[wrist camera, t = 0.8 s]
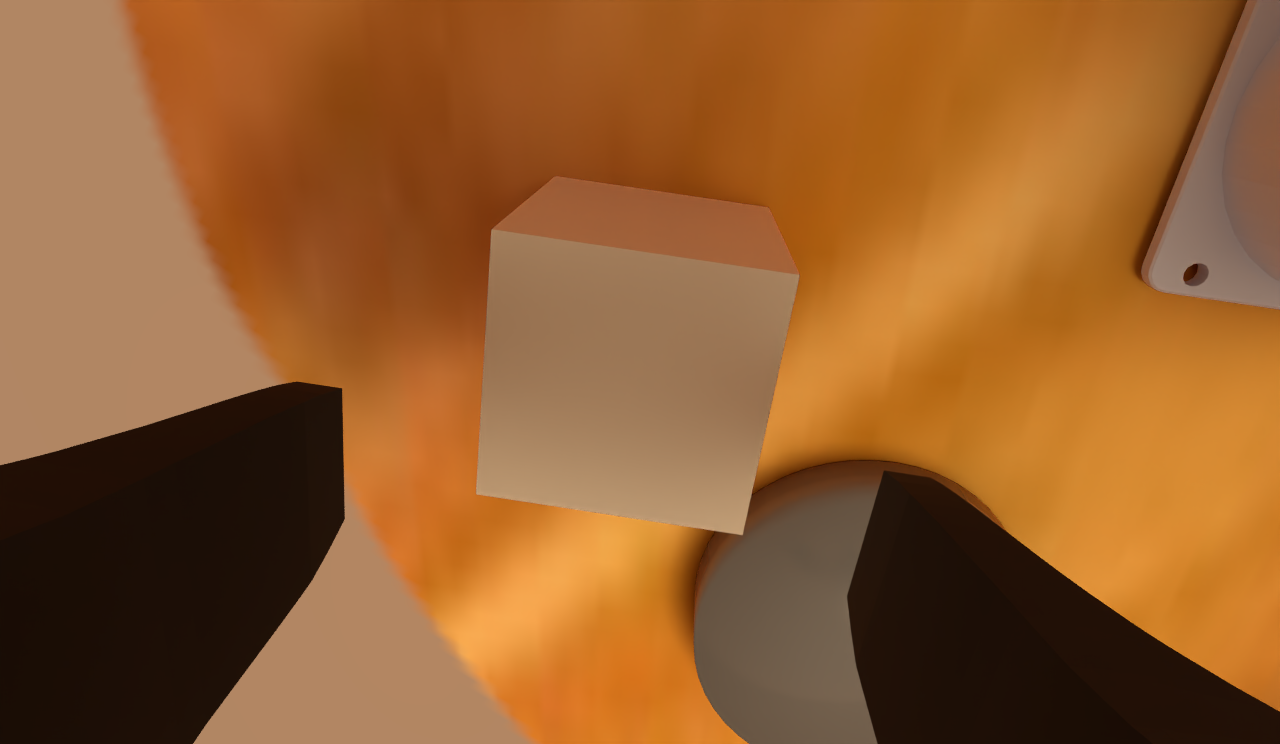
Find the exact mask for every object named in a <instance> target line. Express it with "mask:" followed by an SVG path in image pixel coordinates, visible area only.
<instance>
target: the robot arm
mask: <svg viewBox="0 0 1280 744" xmlns="http://www.w3.org/2000/svg"><path fill="white" fill-rule="evenodd" d="M1193 264H1197V265H1198V271H1197V273H1196V275H1195V276H1194V277H1193V278H1192V279H1190V280H1188V281H1184V280H1183V276H1184V272H1185V271H1186V269H1187V268H1188V267H1190V266H1191V265H1193ZM1141 275H1142V278H1143V281H1144V282H1145V283H1146V284H1147V285H1148V286H1150V287H1152V288H1153V289H1155V290H1158V291H1161V292H1164V293H1171V294H1178V295H1184V296H1191V297H1198V298H1205V299H1212V300H1218V301H1225V302H1232V303H1239V304H1246V305H1252V306H1259V307H1266V308H1273V309H1279V310H1280V0H1247V3H1246V5H1245V8H1244V10H1243V13H1242V15H1241V18H1240V20H1239V23H1238V25H1237V28H1236V31H1235V33H1234V36H1233V38H1232V41H1231V43H1230V46H1229V48H1228V51H1227V53H1226V56H1225V58H1224V61H1223V63H1222V66H1221V68H1220V71H1219V73H1218V76H1217V78H1216V81H1215V83H1214V86H1213V88H1212V91H1211V93H1210V96H1209V98H1208V101H1207V103H1206V106H1205V108H1204V111H1203V114H1202V116H1201V119H1200V121H1199V124H1198V126H1197V129H1196V131H1195V134H1194V136H1193V139H1192V141H1191V144H1190V146H1189V149H1188V151H1187V154H1186V156H1185V159H1184V161H1183V164H1182V166H1181V169H1180V171H1179V174H1178V176H1177V179H1176V181H1175V184H1174V186H1173V189H1172V192H1171V194H1170V197H1169V199H1168V202H1167V204H1166V207H1165V209H1164V212H1163V214H1162V217H1161V219H1160V222H1159V224H1158V227H1157V229H1156V232H1155V234H1154V237H1153V239H1152V242H1151V244H1150V247H1149V249H1148V252H1147V254H1146V257H1145V259H1144V262H1143V265H1142V270H1141ZM344 515H345V512H344V462H343V413H342V388H336V387H329V386H323V385H316V384H309V383H303V382H292V383H286V384H281V385H276V386H272V387H269V388H265V389H261V390H258V391H254V392H251V393H247V394H244V395H241V396H238V397H234V398H231V399H228V400H225V401H221V402H219V403H215V404H212V405H209V406H206V407H203V408H200V409H196V410H194V411H190V412H187V413H184V414H181V415H178V416H174V417H171V418H168V419H165V420H162V421H159V422H155V423H153V424H149V425H146V426H143V427H139V428H136V429H132V430H129V431H125V432H122V433H118V434H115V435H111V436H108V437H104V438H101V439H97V440H94V441H91V442H87V443H84V444H80V445H76V446H73V447H70V448H67V449H63V450H59V451H56V452H52V453H48V454H44V455H40V456H37V457H33V458H29V459H25V460H21V461H16V462H13V463H8V464H4V465H0V744H193V743H194V741H195V740H196V738H197V737H198V736H199V734H200V733H201V731H202V729H203V728H204V726H205V725H206V724H207V722H208V721H209V720H210V718H211V717H212V716H213V714H214V713H215V712H216V710H217V709H218V708H219V706H220V705H221V704H222V702H223V701H224V699H225V698H226V697H227V696H228V694H229V693H230V691H231V690H232V689H233V687H234V686H235V685H236V683H237V682H238V681H239V679H240V678H241V677H242V675H243V674H244V673H245V671H246V670H247V669H248V667H249V666H250V665H251V663H252V662H253V661H254V659H255V658H256V657H257V655H258V654H259V652H260V651H261V650H262V648H263V647H264V646H265V644H266V643H267V642H268V640H269V639H270V638H271V636H272V635H273V634H274V632H275V631H276V630H277V628H278V627H279V625H280V624H281V623H282V621H283V620H284V619H285V617H286V616H287V614H288V613H289V612H290V610H291V609H292V608H293V606H294V605H295V604H296V602H297V601H298V599H299V598H300V597H301V595H302V594H303V592H304V591H305V590H306V588H307V587H308V585H309V584H310V582H311V581H312V579H313V578H314V576H315V574H316V572H317V570H318V569H319V567H320V565H321V563H322V562H323V560H324V558H325V556H326V554H327V553H328V550H329V549H330V546H331V545H332V543H333V541H334V539H335V537H336V535H337V533H338V531H339V529H340V527H341V525H342V523H343V521H344V519H345V516H344ZM847 602H848V610H849V619H850V627H851V635H852V642H853V649H854V655H855V662H856V667H857V671H858V675H859V679H860V682H861V686H862V690H863V693H864V697H865V701H866V704H867V708H868V712H869V715H870V719H871V723H872V726H873V730H874V733H875V737H876V740H877V744H1280V712H1279V711H1277V710H1276V709H1274V708H1272V707H1270V706H1268V705H1267V704H1265V703H1263V702H1261V701H1260V700H1258V699H1256V698H1254V697H1252V696H1251V695H1249V694H1247V693H1245V692H1243V691H1242V690H1240V689H1238V688H1236V687H1235V686H1233V685H1231V684H1230V683H1228V682H1226V681H1225V680H1223V679H1221V678H1220V677H1218V676H1216V675H1215V674H1213V673H1211V672H1210V671H1208V670H1206V669H1205V668H1203V667H1201V666H1200V665H1198V664H1196V663H1195V662H1193V661H1191V660H1190V659H1188V658H1186V657H1185V656H1183V655H1181V654H1180V653H1178V652H1176V651H1175V650H1173V649H1172V648H1170V647H1168V646H1167V645H1165V644H1164V643H1162V642H1160V641H1159V640H1157V639H1156V638H1154V637H1153V636H1151V635H1150V634H1148V633H1146V632H1145V631H1143V630H1142V629H1140V628H1139V627H1137V626H1136V625H1134V624H1133V623H1131V622H1130V621H1128V620H1127V619H1126V618H1124V617H1123V616H1121V615H1120V614H1118V613H1117V612H1115V611H1114V610H1112V609H1111V608H1110V607H1108V606H1107V605H1105V604H1104V603H1102V602H1101V601H1099V600H1098V599H1097V598H1095V597H1094V596H1092V595H1091V594H1089V593H1088V592H1086V591H1085V590H1084V589H1082V588H1081V587H1079V586H1078V585H1077V584H1075V583H1074V582H1073V581H1071V580H1070V579H1068V578H1067V577H1066V576H1064V575H1063V574H1062V573H1060V572H1059V571H1058V570H1056V569H1055V568H1053V567H1052V566H1051V565H1049V564H1048V563H1047V562H1045V561H1044V560H1043V559H1041V558H1040V557H1039V556H1038V555H1036V554H1035V553H1034V552H1032V551H1031V550H1030V549H1028V548H1027V547H1026V546H1024V545H1023V544H1022V543H1020V542H1019V541H1018V540H1017V539H1015V538H1014V537H1013V536H1011V535H1010V534H1009V533H1007V532H1006V531H1005V530H1004V529H1002V528H1001V527H1000V526H998V525H997V524H996V523H994V522H993V521H992V520H991V519H989V518H988V517H987V516H985V515H984V514H983V513H981V512H980V511H979V510H978V509H976V508H975V507H974V506H972V505H971V504H970V503H968V502H967V501H966V500H964V499H963V498H961V497H960V496H959V495H957V494H956V493H955V492H953V491H952V490H950V489H949V488H947V487H946V486H944V485H943V484H941V483H939V482H938V481H936V480H934V479H933V478H931V477H925V476H918V475H912V474H905V473H898V472H892V471H885V470H884V472H883V475H882V479H881V482H880V485H879V489H878V492H877V496H876V499H875V502H874V506H873V509H872V513H871V516H870V519H869V523H868V526H867V529H866V533H865V536H864V540H863V543H862V546H861V550H860V553H859V557H858V560H857V563H856V567H855V570H854V574H853V577H852V580H851V584H850V587H849V591H848V594H847Z"/></svg>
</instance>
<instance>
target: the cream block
mask: <svg viewBox="0 0 1280 744" xmlns="http://www.w3.org/2000/svg"><path fill="white" fill-rule="evenodd" d="M799 277H800V274H799V272H798V270H797V268H796V265H795V263H794V261H793V259H792V257H791V254H790V252H789V250H788V248H787V246H786V244H785V241H784V239H783V237H782V235H781V233H780V231H779V228H778V226H777V224H776V222H775V220H774V218H773V215H772V213H771V211H770V209H769V207H764V206H757V205H750V204H743V203H736V202H730V201H723V200H716V199H709V198H702V197H696V196H689V195H682V194H675V193H668V192H662V191H655V190H648V189H641V188H634V187H628V186H621V185H614V184H607V183H600V182H593V181H587V180H580V179H573V178H566V177H559V176H555V177H553V178H552V179H551V180H550V181H549V182H547V183H546V184H545V185H544V186H543V187H541V188H540V189H539V190H538V191H537V192H535V193H534V194H533V195H532V196H531V197H529V198H528V199H527V200H526V201H525V202H523V203H522V204H521V205H520V206H519V207H517V208H516V209H515V210H514V211H513V212H511V213H510V214H509V215H508V216H507V217H505V218H504V219H503V220H502V221H501V222H499V223H498V224H497V225H496V226H495V227H493V228H492V229H491V245H490V262H489V279H488V297H487V314H486V331H485V348H484V365H483V382H482V400H481V417H480V434H479V451H478V468H477V485H476V494H478V495H484V496H491V497H497V498H504V499H510V500H517V501H523V502H530V503H536V504H543V505H549V506H556V507H563V508H569V509H576V510H582V511H589V512H595V513H602V514H608V515H615V516H621V517H628V518H634V519H641V520H647V521H654V522H660V523H667V524H673V525H680V526H686V527H693V528H699V529H706V530H712V531H719V532H725V533H732V534H738V535H743V531H744V526H745V522H746V517H747V513H748V508H749V504H750V499H751V495H752V490H753V486H754V481H755V477H756V472H757V467H758V463H759V458H760V454H761V449H762V445H763V440H764V436H765V431H766V427H767V422H768V418H769V413H770V408H771V404H772V399H773V395H774V390H775V386H776V381H777V377H778V372H779V368H780V363H781V359H782V354H783V350H784V345H785V340H786V336H787V331H788V327H789V322H790V318H791V313H792V309H793V304H794V300H795V295H796V291H797V286H798V282H799Z"/></svg>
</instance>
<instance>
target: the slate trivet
mask: <svg viewBox="0 0 1280 744" xmlns="http://www.w3.org/2000/svg"><path fill="white" fill-rule="evenodd" d="M884 470H885V471H892V472H898V473H905V474H912V475H918V476H925V477H931V478H933V479H934V480H936V481H938V482H939V483H941V484H943V485H944V486H946V487H947V488H949V489H950V490H952V491H953V492H955V493H956V494H957V495H959V496H960V497H961V498H963V499H964V500H966V501H967V502H968V503H970V504H971V505H972V506H974V507H975V508H976V509H978V510H979V511H980V512H981V513H983V514H984V515H985V516H987V517H988V518H989V519H991V520H992V521H993V522H994V523H996V524H997V525H998V526H1000V527H1001V528H1002V529H1004V527H1003V525H1002V524H1001V523H1000V521H999V520H998V519H997V518H996V516H995V515H994V514H993V513H992V512H991V510H990V509H989V508H988V507H987V506H986V505H985V504H983V503H982V502H981V501H980V500H979V499H978V498H977V497H976V496H975V495H973V494H972V493H970V492H969V491H967V490H966V489H964V488H963V487H961V486H960V485H958V484H957V483H955V482H953V481H951V480H949V479H947V478H945V477H943V476H940V475H938V474H936V473H933V472H930V471H927V470H924V469H921V468H918V467H914V466H909V465H905V464H900V463H895V462H884V461H873V460H868V461H845V462H838V463H830V464H824V465H820V466H816V467H813V468H809V469H805V470H802V471H799V472H797V473H794V474H791V475H789V476H786V477H783V478H781V479H779V480H777V481H776V482H774V483H772V484H770V485H768V486H766V487H764V488H762V489H761V490H760V491H758V492H757V493H755V494H754V495H752V496H751V499H750V504H749V508H748V513H747V517H746V522H745V526H744V531H743V535H738V534H732V533H725V532H719V531H716V532H715V534H714V535H713V537H712V538H711V540H710V541H709V543H708V545H707V547H706V550H705V552H704V554H703V556H702V558H701V561H700V565H699V568H698V572H697V575H696V583H695V591H694V656H695V664H696V668H697V673H698V677H699V680H700V682H701V685H702V687H703V690H704V693H705V695H706V696H707V698H708V700H709V701H710V703H711V705H712V707H713V708H714V710H715V711H716V712H717V713H718V715H719V716H720V717H721V718H722V720H723V721H724V722H725V723H726V724H727V725H728V726H729V727H730V728H731V729H732V730H733V731H734V732H735V733H736V734H737V735H738V736H740V737H741V738H742V739H744V740H745V741H746V742H748V743H749V744H877V740H876V737H875V733H874V730H873V726H872V723H871V719H870V715H869V712H868V708H867V704H866V701H865V697H864V693H863V690H862V686H861V682H860V679H859V675H858V671H857V667H856V662H855V655H854V649H853V642H852V635H851V627H850V619H849V610H848V602H847V594H848V591H849V587H850V584H851V580H852V577H853V574H854V570H855V567H856V563H857V560H858V557H859V553H860V550H861V546H862V543H863V540H864V536H865V533H866V529H867V526H868V523H869V519H870V516H871V513H872V509H873V506H874V502H875V499H876V496H877V492H878V489H879V485H880V482H881V479H882V475H883V472H884ZM1004 530H1005V529H1004ZM1005 531H1006V530H1005Z"/></svg>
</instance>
